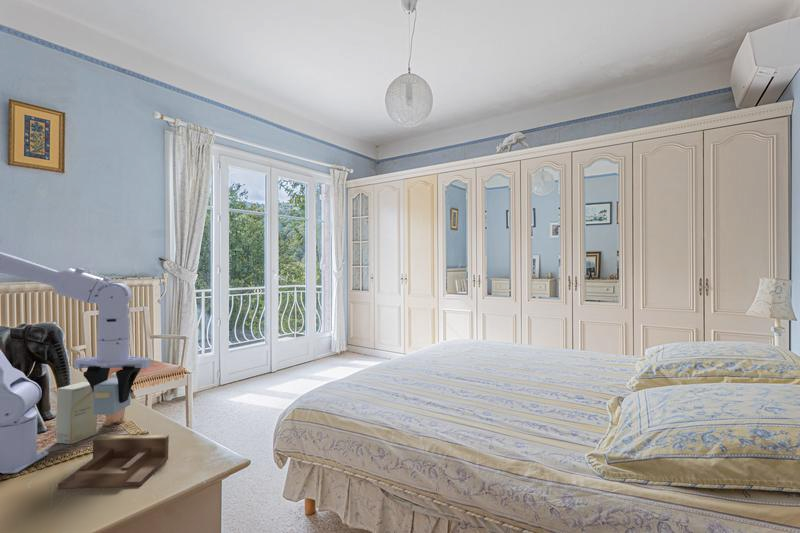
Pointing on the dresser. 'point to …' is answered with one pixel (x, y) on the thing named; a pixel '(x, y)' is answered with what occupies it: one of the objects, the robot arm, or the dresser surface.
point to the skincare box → (75, 413)
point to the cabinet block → (108, 398)
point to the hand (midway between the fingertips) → (112, 401)
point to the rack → (120, 461)
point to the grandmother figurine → (119, 415)
